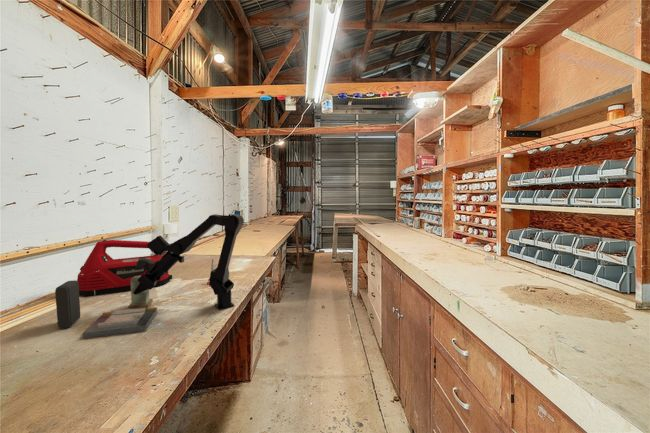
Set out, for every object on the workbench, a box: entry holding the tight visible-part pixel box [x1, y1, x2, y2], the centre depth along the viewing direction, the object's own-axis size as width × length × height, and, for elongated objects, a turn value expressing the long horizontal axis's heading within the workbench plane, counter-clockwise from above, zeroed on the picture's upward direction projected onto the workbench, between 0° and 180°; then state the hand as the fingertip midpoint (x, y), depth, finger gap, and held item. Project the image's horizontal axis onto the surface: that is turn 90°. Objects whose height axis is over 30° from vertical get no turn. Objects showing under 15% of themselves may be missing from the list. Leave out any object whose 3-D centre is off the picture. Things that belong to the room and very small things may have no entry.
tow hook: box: [206, 259, 215, 285], centre depth 150 cm, size 8×13×9 cm
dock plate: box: [81, 306, 158, 340], centre depth 103 cm, size 18×16×4 cm
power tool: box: [76, 239, 173, 298], centre depth 144 cm, size 16×40×25 cm, turn 122°
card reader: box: [54, 279, 81, 330], centre depth 103 cm, size 9×4×15 cm, turn 21°
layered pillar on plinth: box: [127, 276, 154, 309], centre depth 118 cm, size 7×7×13 cm
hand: (136, 291), depth 117 cm, fingers closed on layered pillar on plinth, 5 cm apart
